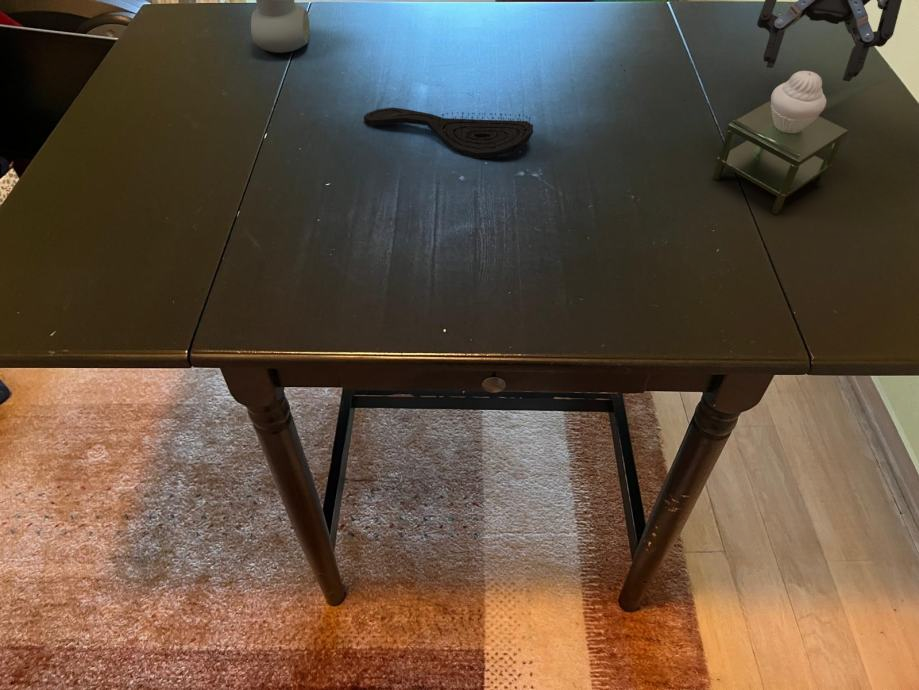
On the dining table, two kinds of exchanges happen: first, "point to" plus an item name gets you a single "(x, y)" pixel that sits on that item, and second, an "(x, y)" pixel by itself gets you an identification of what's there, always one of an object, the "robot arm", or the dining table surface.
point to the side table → (779, 153)
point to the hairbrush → (462, 131)
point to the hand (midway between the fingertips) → (808, 72)
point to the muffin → (797, 102)
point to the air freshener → (279, 25)
